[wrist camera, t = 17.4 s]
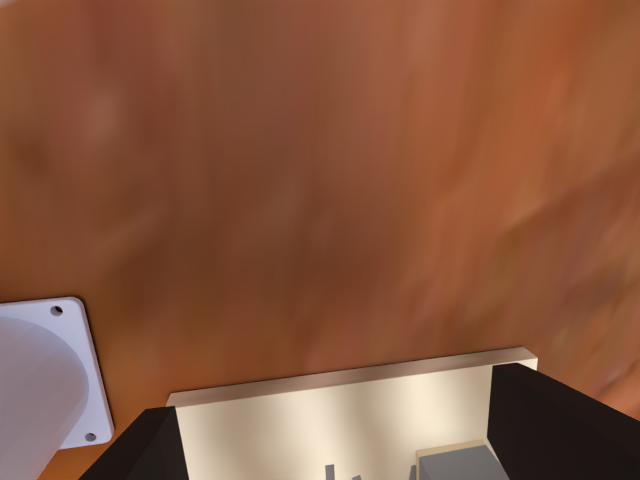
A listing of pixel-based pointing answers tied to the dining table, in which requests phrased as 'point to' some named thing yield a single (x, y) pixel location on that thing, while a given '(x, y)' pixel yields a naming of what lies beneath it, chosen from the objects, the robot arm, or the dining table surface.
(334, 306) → the dining table surface
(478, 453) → the block
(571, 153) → the dining table surface
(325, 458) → the pine board
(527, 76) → the dining table surface
